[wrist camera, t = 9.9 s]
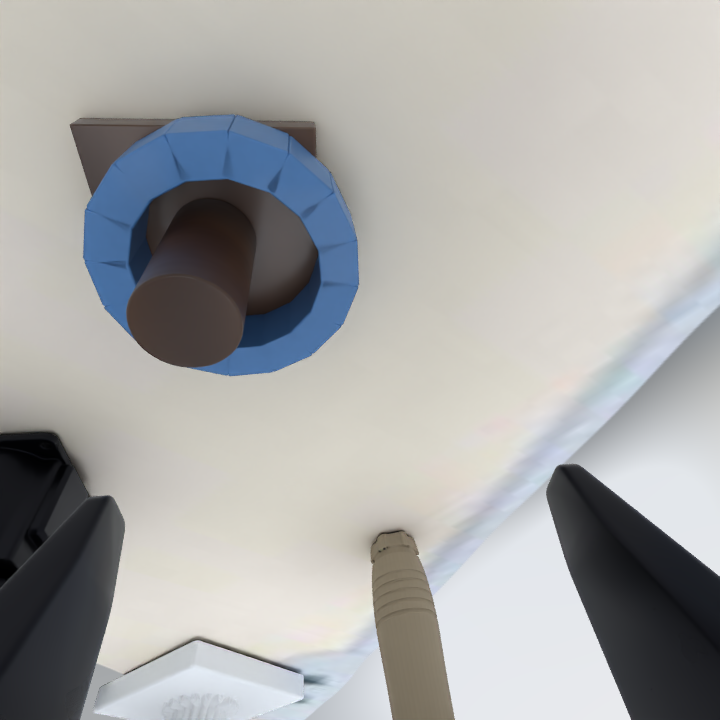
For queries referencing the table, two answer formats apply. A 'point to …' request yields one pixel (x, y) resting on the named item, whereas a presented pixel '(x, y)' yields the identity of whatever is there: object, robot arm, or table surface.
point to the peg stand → (205, 250)
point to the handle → (408, 632)
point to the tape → (249, 167)
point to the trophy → (200, 687)
